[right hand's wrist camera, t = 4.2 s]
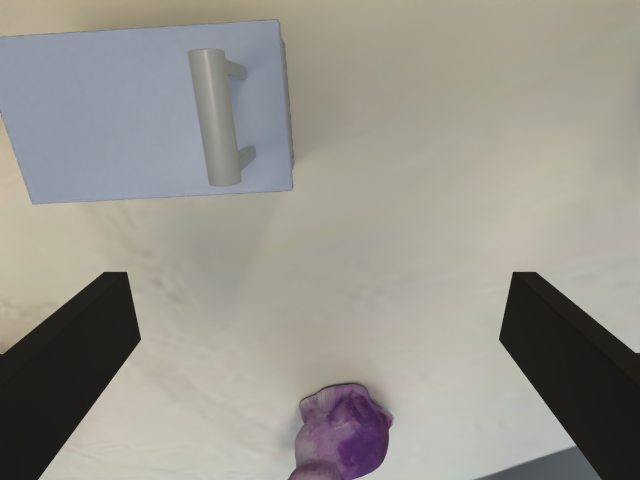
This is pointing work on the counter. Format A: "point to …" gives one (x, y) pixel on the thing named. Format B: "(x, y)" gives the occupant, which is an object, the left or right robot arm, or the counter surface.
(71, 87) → the lid
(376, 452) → the figurine
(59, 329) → the right robot arm
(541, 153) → the counter surface
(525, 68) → the counter surface
